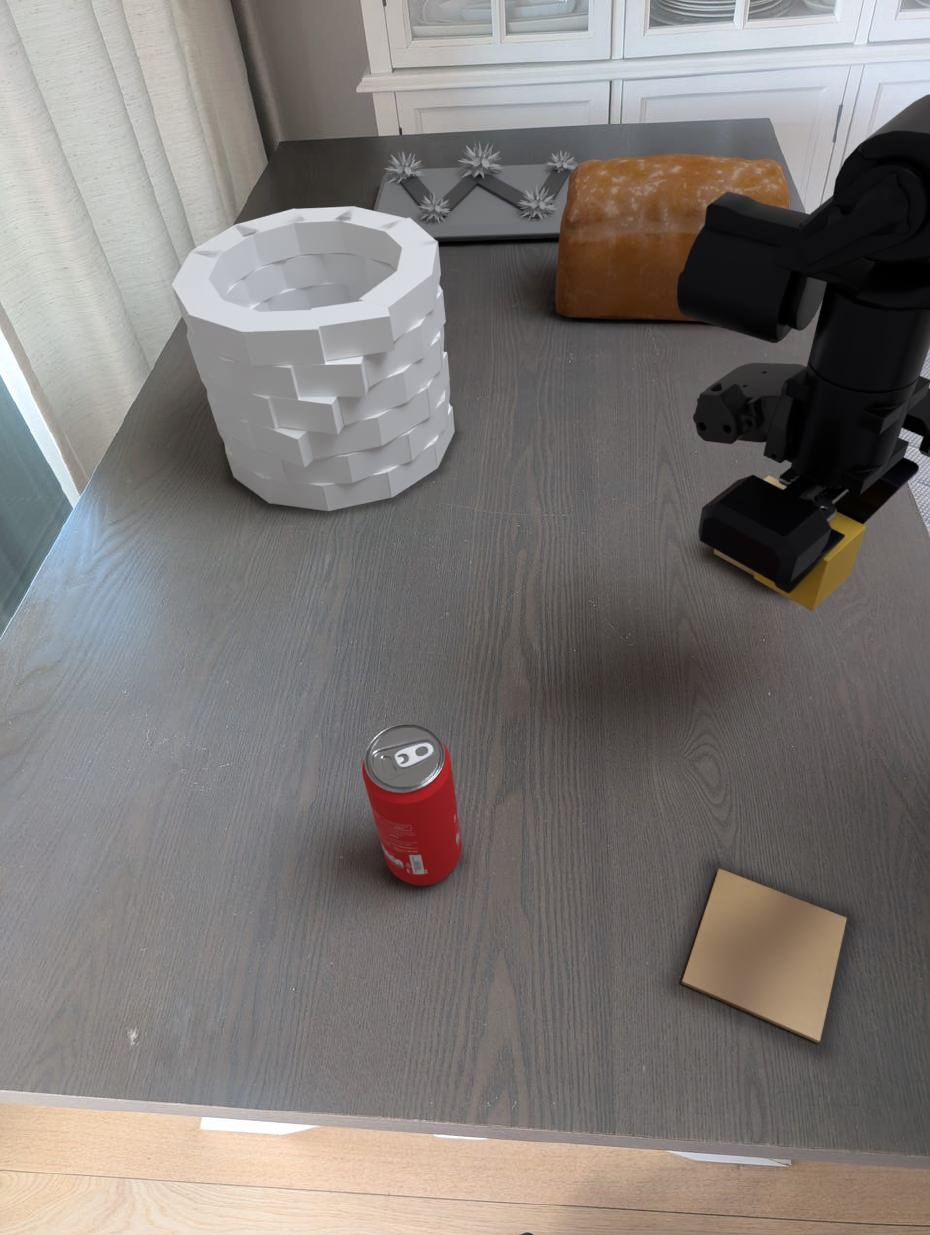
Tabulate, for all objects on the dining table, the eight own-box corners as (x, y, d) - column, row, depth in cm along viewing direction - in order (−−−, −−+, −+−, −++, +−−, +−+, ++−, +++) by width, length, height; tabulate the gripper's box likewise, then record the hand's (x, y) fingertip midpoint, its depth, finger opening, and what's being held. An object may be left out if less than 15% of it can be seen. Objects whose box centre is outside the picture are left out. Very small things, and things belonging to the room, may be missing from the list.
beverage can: (375, 839, 61) (348, 738, 52) (445, 810, 62) (429, 707, 54) (402, 904, 58) (377, 809, 49) (475, 873, 59) (463, 774, 50)
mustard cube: (849, 576, 60) (867, 526, 57) (812, 611, 58) (827, 561, 55) (791, 545, 62) (804, 495, 59) (753, 578, 60) (764, 528, 57)
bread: (781, 329, 102) (812, 187, 90) (551, 323, 106) (553, 187, 94) (772, 271, 111) (799, 135, 99) (561, 268, 115) (563, 137, 103)
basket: (219, 397, 100) (166, 228, 86) (426, 356, 102) (409, 187, 89) (236, 542, 83) (175, 363, 69) (484, 489, 86) (473, 306, 72)
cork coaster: (845, 920, 55) (847, 917, 55) (818, 1043, 51) (820, 1041, 50) (718, 870, 58) (718, 867, 58) (681, 983, 54) (681, 981, 53)
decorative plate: (366, 250, 122) (359, 196, 116) (384, 185, 136) (378, 135, 131) (588, 242, 119) (590, 187, 114) (582, 176, 134) (584, 125, 128)
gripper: (827, 257, 57) (781, 457, 68) (635, 381, 49) (619, 584, 60) (1003, 314, 51) (920, 523, 62) (817, 466, 43) (760, 673, 54)
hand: (804, 570), depth 60 cm, fingers closed on mustard cube, 4 cm apart
